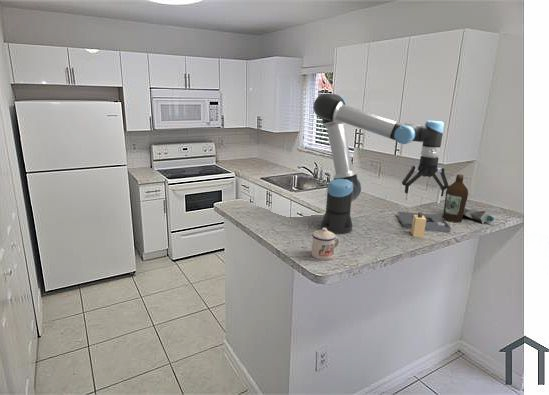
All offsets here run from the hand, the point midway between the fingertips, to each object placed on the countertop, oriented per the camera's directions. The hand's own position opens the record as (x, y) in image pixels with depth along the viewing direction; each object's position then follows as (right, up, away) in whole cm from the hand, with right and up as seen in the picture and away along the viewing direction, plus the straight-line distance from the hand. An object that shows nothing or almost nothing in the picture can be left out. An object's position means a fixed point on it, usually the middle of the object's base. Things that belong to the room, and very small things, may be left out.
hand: (422, 201), depth 164 cm
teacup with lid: (-48, -22, -22) cm, 57 cm away
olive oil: (+28, -11, +29) cm, 42 cm away
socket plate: (+8, -12, +20) cm, 25 cm away
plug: (-1, -16, +4) cm, 17 cm away
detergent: (+39, -10, +32) cm, 52 cm away
